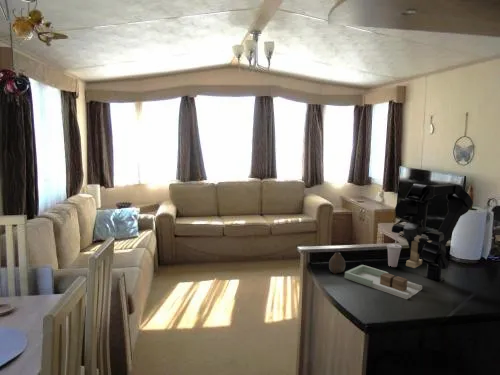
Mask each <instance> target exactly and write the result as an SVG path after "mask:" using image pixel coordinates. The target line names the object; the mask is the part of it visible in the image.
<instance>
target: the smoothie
mask: <svg viewBox="0 0 500 375" xmlns="http://www.w3.org/2000/svg"><path fill="white" fill-rule="evenodd" d="M397 239H398V236H395V240H394V241H395V243H388V244H386V248H387V264H388V265H387V266H389V267H390V266H391V268H397V267H398V263H399V259H400V254H401V250H402V245H400V244H398V243H397V242H398V240H397Z"/></svg>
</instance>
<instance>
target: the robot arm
mask: <svg viewBox="0 0 500 375" xmlns="http://www.w3.org/2000/svg"><path fill="white" fill-rule="evenodd" d="M441 195H442V196H443V195H445V198H446V200H447V201H448V202H447V213H446V215H445V217H444V218H443V221H442V222H441V224H440V227H439V228H438V231H436V230H432V231H427V221H428V217H427V216H428V215H427V214H428V209H429V208H428V207H429V205H432V204H433V203H432V202H431V200H430V199H433V198H434V197H435V196H441ZM473 204H474V202H473V199H472V197H471V196H470V194H469V193H468V192H467V191H466V190H464V189H463V188H462V187H461V185H459V184H456V183H452V182H451V183H450V182H449V183H443V184H442V183H441V184H433V185H432V184H431V185H429V184H421V183H413V184H412V186H411V187H410V188H409V189H408V192H407V194H406V195H405V197H404V199H402V198H401V199H400V200H399V202H398V203H397V204H396V206H395V208H394V210H395V213H396V216H398V218H406V217H408V222H407V223H406V224H401V223H397V224H394V225H392V227H391V232H392V233H393V234H394V233H395V234H400V233H402V235H401V236H402V237H403V238H405V239H406V241H407V244H408V248H409V252H410V253H411V244H412V241H413V240H415V238H416V237H417V236H420V238H418V241H419V246H418V254H419V255H420V254H421V259H422V264H423V263H424V264H426V265H427V266H426V274H425V276H423V278H424V279H428V280H431V281H435V282H438V283H441V282H442V281H443V280H445V277H442V275H443V270H446V269H447V268H449V264H450V262H449V260H448V259H447V258H446V255H447V249H446V248H447V244H448V242H449V240H450V238H451V236H452V233H453V232H454V231H455V228H456V227H457V224H458V223H459V220H460V218H461V217H462V216H464V215H465V214H466V213H468V212H469V211H470V209H471V208H472V205H473Z"/></svg>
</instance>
